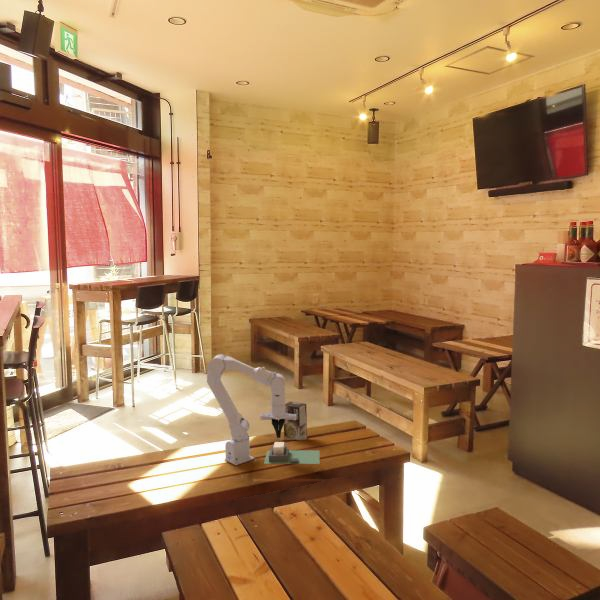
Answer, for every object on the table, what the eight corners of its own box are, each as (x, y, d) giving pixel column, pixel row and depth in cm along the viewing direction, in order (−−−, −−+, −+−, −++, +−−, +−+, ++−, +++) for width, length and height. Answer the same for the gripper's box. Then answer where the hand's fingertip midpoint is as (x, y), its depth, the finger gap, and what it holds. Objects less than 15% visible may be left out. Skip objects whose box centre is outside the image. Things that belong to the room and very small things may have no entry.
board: (263, 466, 196) (263, 457, 195) (267, 452, 210) (267, 444, 209) (319, 466, 195) (319, 457, 195) (319, 452, 209) (319, 444, 209)
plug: (275, 453, 206) (274, 441, 206) (284, 453, 206) (284, 442, 205) (273, 460, 199) (272, 448, 199) (283, 460, 199) (282, 448, 198)
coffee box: (307, 438, 226) (307, 403, 225) (300, 442, 221) (299, 407, 220) (291, 434, 231) (290, 401, 230) (283, 439, 226) (282, 404, 225)
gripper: (259, 407, 197) (259, 440, 198) (295, 407, 197) (295, 440, 198) (261, 402, 204) (261, 434, 205) (296, 402, 204) (296, 434, 205)
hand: (278, 437), depth 202 cm, fingers closed
